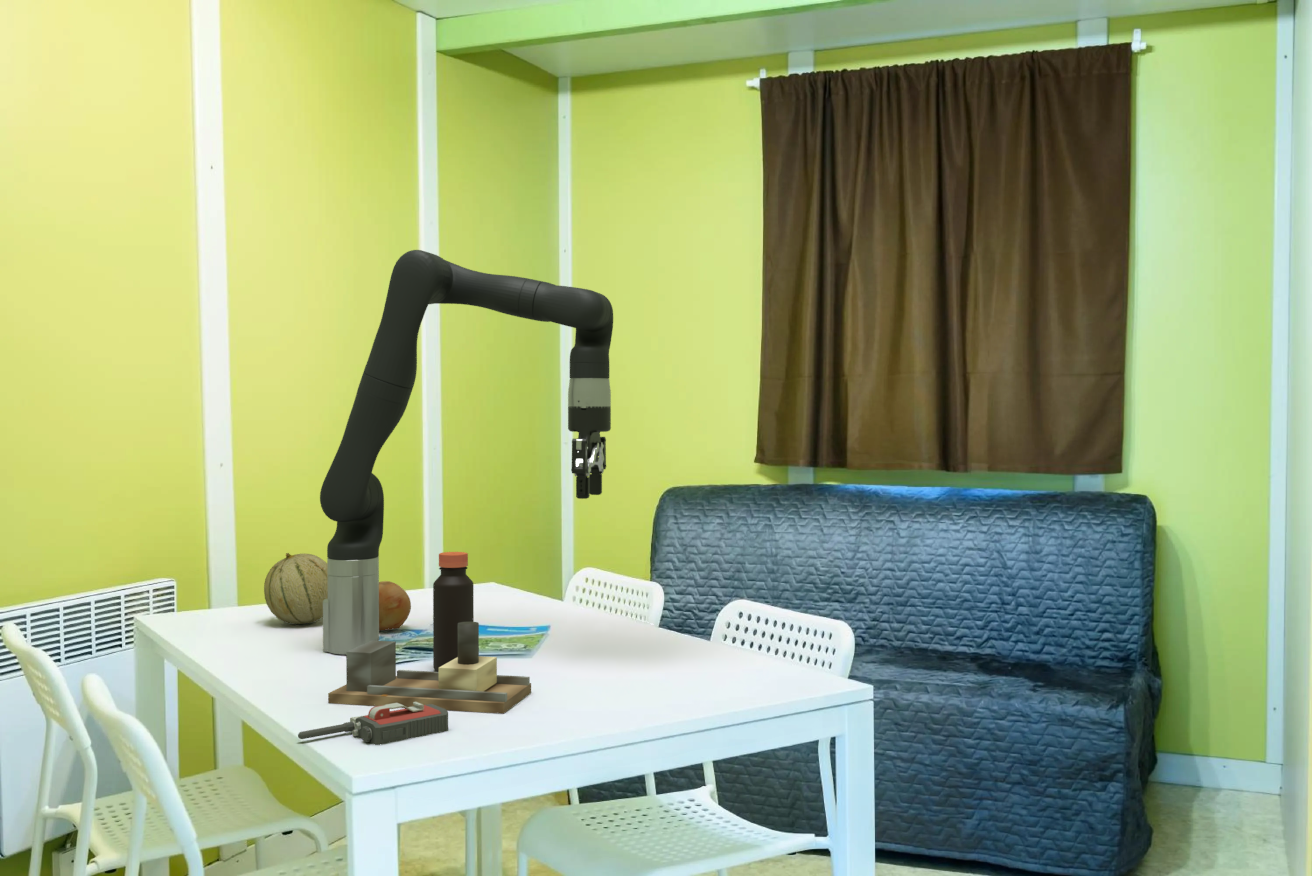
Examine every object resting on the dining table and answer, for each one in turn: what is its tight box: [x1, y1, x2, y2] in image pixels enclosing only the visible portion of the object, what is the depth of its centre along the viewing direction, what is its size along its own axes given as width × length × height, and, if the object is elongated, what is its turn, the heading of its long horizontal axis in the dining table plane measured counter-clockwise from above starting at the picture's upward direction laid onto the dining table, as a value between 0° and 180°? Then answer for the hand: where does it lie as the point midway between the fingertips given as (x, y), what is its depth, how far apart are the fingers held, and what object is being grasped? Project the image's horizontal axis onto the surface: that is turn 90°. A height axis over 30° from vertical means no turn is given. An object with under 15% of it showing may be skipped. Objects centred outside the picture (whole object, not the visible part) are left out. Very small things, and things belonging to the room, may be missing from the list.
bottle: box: [432, 551, 475, 672], centre depth 201 cm, size 7×7×20 cm
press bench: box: [327, 640, 532, 715], centre depth 182 cm, size 28×13×8 cm, turn 78°
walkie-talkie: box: [297, 702, 449, 746], centre depth 161 cm, size 9×4×20 cm
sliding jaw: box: [439, 621, 498, 691], centre depth 180 cm, size 6×9×10 cm, turn 168°
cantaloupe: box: [263, 552, 328, 625], centre depth 243 cm, size 15×15×15 cm
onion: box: [379, 580, 412, 632], centre depth 236 cm, size 10×10×10 cm
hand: (589, 496), depth 207 cm, fingers open, 8 cm apart
